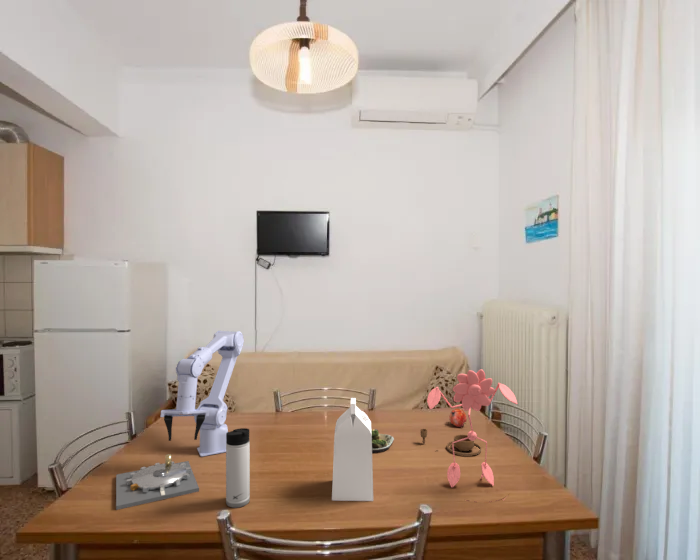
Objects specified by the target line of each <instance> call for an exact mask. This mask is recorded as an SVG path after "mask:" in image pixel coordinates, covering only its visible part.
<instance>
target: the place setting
mask: <svg viewBox="0 0 700 560" xmlns="http://www.w3.org/2000/svg"><path fill="white" fill-rule="evenodd" d="M427 436H428V429H427V428H420V437H421V439H422V445H423V446H426V438H427ZM467 437H468V434H456V435H454V436H453V440H452V441H450V442H448V443H447V444H446V449H447V450H448V452H450V453H451V452H452V453H451V454H453V449H451V447H452V446H451V445H452V443H453V442H455V441H458V440H461V439H464V438H467ZM474 442H475V440H474V441H472V440H470V439H469V438H468V439H465V440H462V441H459V442H456V443H453V444H454V447H455V448H456V449H457V450H458V449H459V450H460V451H459V450H458V451H455V450H454V455H455V454H457V455H456V456H459V455H463V456H462V457H473V456H472V455H476V456H478V455H480V454H481V452H482V447H480V446H481V445H480V444H478V443H476V442H475V443H474ZM479 445H480V446H479ZM449 446H451V447H450V448H449ZM474 446H476V447H478V448H479V449H480V450H479V451H478V450H477V451H475V452H470V451H471V450H472V449H474ZM469 450H470V451H469ZM462 451H469V452H462ZM434 452H439V450H438V449H436V450H434ZM479 453H480V454H479ZM477 454H478V455H477Z"/></svg>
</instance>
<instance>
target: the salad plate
mask: <svg viewBox="0 0 700 560" xmlns="http://www.w3.org/2000/svg"><path fill="white" fill-rule="evenodd" d="M371 433H372V454H377V453H384V452H385V451H387V450H389V449H390V447H391V445H393V442H394V441H395V438H394V436H392V435H390V434H386V433H384V434H383V433H379V430H378V429H377V428H371Z"/></svg>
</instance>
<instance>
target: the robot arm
mask: <svg viewBox="0 0 700 560" xmlns="http://www.w3.org/2000/svg"><path fill="white" fill-rule="evenodd" d="M244 341H245V340H244V334H243V333H242V331H240V330H237V331H234V330H232V331H229V330H217V331H216V332H214V333H213V338H212V340H210V342H209V343H207V344H206V346H199V347H197V349H196V350H195V351H194V352H193V353H191V354H190V355H188V357H187V358H182V359H181V360H179V361H178V362H177V364H176V367H175V373H176V376H177V379H176V380H177V382H178V386H177V394H176V396H177V398H176V407H175V408H176V409H175V408H174V409H161V411H160V418H163V421H164V424H165V427H166V429H167V435H168V442H171V441H172V435H173V434H172V430H173V428H172V427H173V418H174V417H193V419H194V422H195V431H194V436H193V438H194V441H196V440H197V439H198V435H199V447H196V450H197V452H198V454H199V456H200V457H206V456H213V455H217V454H223V453H226V433H227V432H229V430H228V429H229V427H228V425H227V424H226V423H225V422H226V419H227V412H228V405H227V404H226V402H225V401H224V399H225V398H224V397H225V395H226V392H227V389H228V385H229V383H230V380H231V377H232V375H233V372H234V368H235V366H236V363H237V359H238V357H239V356H240V354H241V352H242V349H243V345H244V343H245V342H244ZM216 352H217V353H218V354H219V355H220V356H221V361H220V364H219V367H218V369H217V373H216V374H215V375H216V376H215V378H214V379H213V380H214V381H213V384H212V386H211V389H210V392H209V394H208V396H207V397H206V398H204V399H202V400H201V401H200V403H199V405H198V407H197V408H196V399H197V390H198V389H197V388H198V378H199V377H200V376H201V374H202V372H203V369H204V368H205V366H206V365H207V364H208V363H209V362H210V361H211V360H212V359H213V354H214V353H216Z"/></svg>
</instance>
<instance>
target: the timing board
mask: <svg viewBox="0 0 700 560" xmlns="http://www.w3.org/2000/svg"><path fill="white" fill-rule="evenodd" d="M182 463H185V464H186V468H188V467H190V468H191V473H189V478H188V479H183V480H182V481H180V485H178V486H175V485H172V486H170V487H166V488H165V490H163V491H160V489H156V490H149V491H148V492H143V490H141V489H136V490H131V485H132V484H131V485H127V479H130V474H131V473H137V472H138V471H140V469H139V470H133V471H129V472H123V473H118V474H115V476H116V477H115V481H116V482H115V485H116V486H115V487H116V488H115V491H116V492H115V494H116V497H115V498H116V499H115V501H116V502H115V510H116V511H118V510H122V509H126V508H131V507H135V506H140V505H144V504H150V503H153V502H158V501H162V500H166V499H171V498H176V497H180V496H184V495H189V494H192V493H198V492H200V487H199V485H198V482H197V480H196V477H195V474H194V472H193V470H192V466H191V464H190V461H189V460H187V461H181V462H177V463H176V462H174V464H182Z"/></svg>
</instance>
